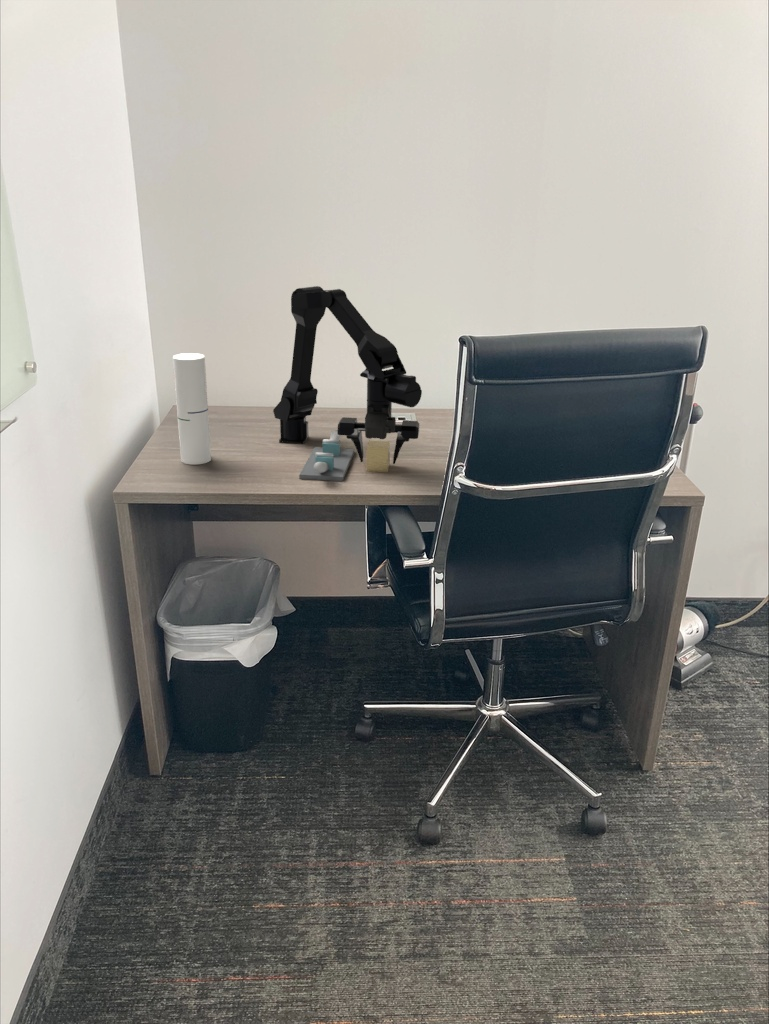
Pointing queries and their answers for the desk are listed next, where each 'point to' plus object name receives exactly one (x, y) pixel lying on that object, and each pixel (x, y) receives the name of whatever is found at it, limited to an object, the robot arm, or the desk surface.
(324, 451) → the coupling stand
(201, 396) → the cylindrical container
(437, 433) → the desk surface
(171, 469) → the desk surface
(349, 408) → the desk surface
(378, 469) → the block
